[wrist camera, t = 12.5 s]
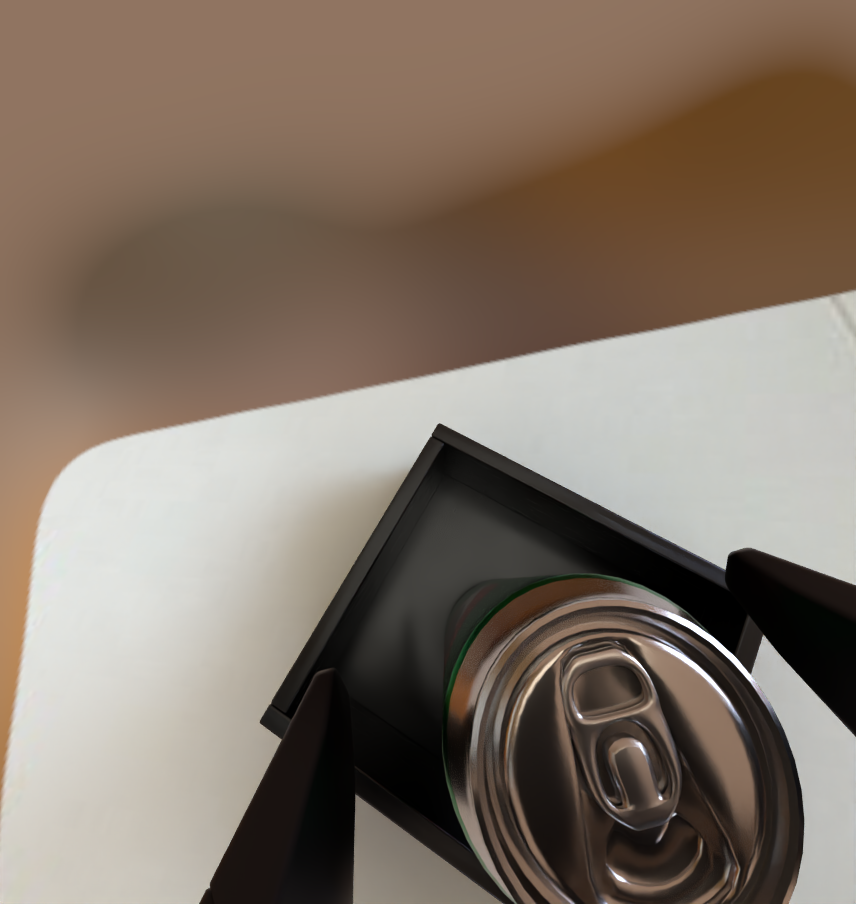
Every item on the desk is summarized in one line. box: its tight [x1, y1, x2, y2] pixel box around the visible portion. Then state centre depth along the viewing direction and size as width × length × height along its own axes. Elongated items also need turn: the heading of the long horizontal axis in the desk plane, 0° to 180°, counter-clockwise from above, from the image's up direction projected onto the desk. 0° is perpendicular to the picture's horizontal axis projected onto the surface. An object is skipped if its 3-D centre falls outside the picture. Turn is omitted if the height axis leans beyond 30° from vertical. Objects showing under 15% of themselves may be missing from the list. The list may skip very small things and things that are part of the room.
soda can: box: [442, 574, 804, 904], centre depth 11 cm, size 5×5×12 cm
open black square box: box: [260, 423, 763, 904], centre depth 15 cm, size 11×12×5 cm
